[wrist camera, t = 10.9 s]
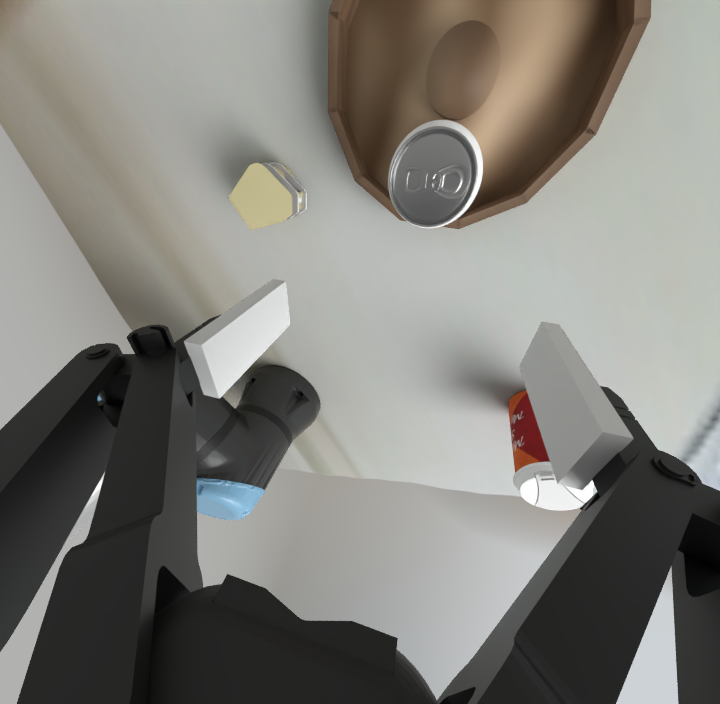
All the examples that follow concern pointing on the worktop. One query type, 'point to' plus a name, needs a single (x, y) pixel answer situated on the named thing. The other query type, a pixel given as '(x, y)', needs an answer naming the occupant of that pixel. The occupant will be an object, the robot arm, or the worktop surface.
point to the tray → (518, 97)
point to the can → (435, 174)
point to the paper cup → (538, 462)
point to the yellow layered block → (268, 195)
